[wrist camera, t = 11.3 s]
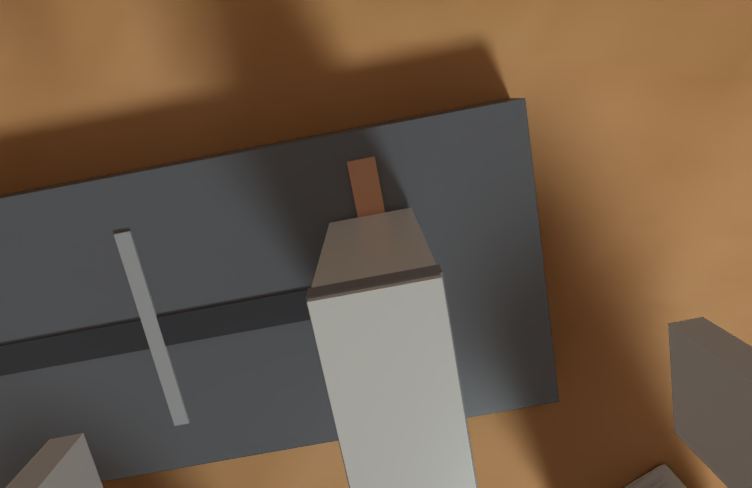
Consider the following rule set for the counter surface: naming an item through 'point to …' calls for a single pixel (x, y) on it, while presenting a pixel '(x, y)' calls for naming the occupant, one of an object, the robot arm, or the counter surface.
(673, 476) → the syrup box
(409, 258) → the fader knob
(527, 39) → the counter surface
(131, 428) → the fader console
